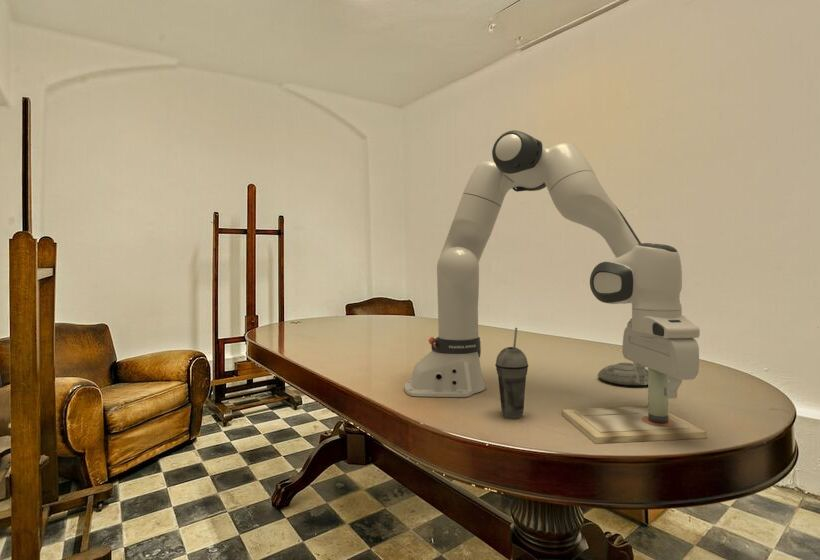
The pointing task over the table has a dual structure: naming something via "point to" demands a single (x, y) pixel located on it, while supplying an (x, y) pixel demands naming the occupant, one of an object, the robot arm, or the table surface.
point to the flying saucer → (620, 374)
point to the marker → (657, 397)
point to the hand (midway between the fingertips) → (655, 390)
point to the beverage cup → (512, 380)
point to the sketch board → (629, 425)
